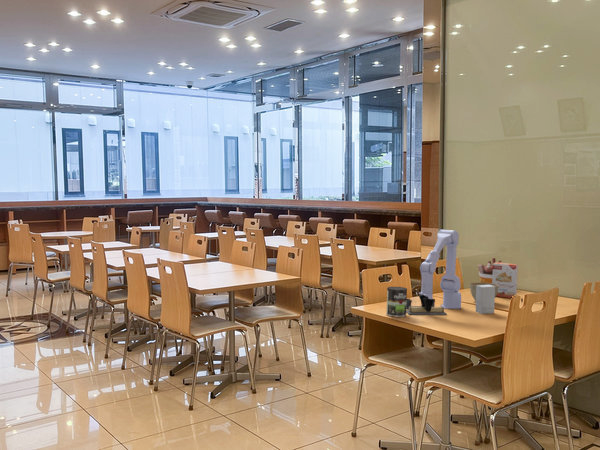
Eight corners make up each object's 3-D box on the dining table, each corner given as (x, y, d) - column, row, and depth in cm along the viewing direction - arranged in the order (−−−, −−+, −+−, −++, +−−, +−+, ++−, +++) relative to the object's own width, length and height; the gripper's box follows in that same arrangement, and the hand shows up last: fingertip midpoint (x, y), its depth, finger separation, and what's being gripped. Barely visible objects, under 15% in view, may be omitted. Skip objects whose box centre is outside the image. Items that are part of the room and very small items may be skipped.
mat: (442, 312, 305) (442, 310, 305) (446, 315, 298) (446, 313, 298) (405, 311, 303) (405, 310, 303) (409, 314, 296) (409, 313, 296)
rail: (442, 311, 302) (442, 306, 302) (443, 312, 300) (443, 307, 300) (408, 311, 301) (408, 306, 301) (409, 312, 298) (410, 307, 298)
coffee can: (409, 316, 292) (410, 289, 291) (391, 317, 289) (392, 290, 288) (400, 312, 302) (401, 286, 301) (383, 313, 299) (383, 286, 298)
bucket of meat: (500, 291, 372) (502, 261, 371) (475, 289, 380) (476, 259, 379) (506, 287, 389) (507, 258, 388) (481, 285, 397) (482, 256, 396)
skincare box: (488, 311, 310) (489, 284, 309) (494, 313, 304) (495, 286, 303) (474, 311, 307) (475, 284, 307) (480, 314, 302) (482, 286, 301)
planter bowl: (494, 300, 340) (494, 282, 340) (500, 306, 324) (501, 287, 324) (466, 299, 342) (467, 281, 341) (472, 305, 326) (472, 286, 325)
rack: (432, 307, 315) (433, 298, 315) (435, 309, 311) (435, 300, 311) (404, 307, 314) (404, 298, 314) (406, 309, 310) (406, 300, 310)
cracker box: (491, 296, 355) (492, 262, 354) (493, 294, 361) (494, 262, 359) (514, 298, 348) (516, 264, 347) (516, 297, 353) (518, 263, 352)
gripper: (415, 282, 306) (415, 307, 307) (423, 286, 292) (422, 312, 293) (428, 282, 307) (427, 307, 308) (436, 287, 292) (435, 313, 293)
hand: (426, 310), depth 300 cm, fingers open, 7 cm apart
